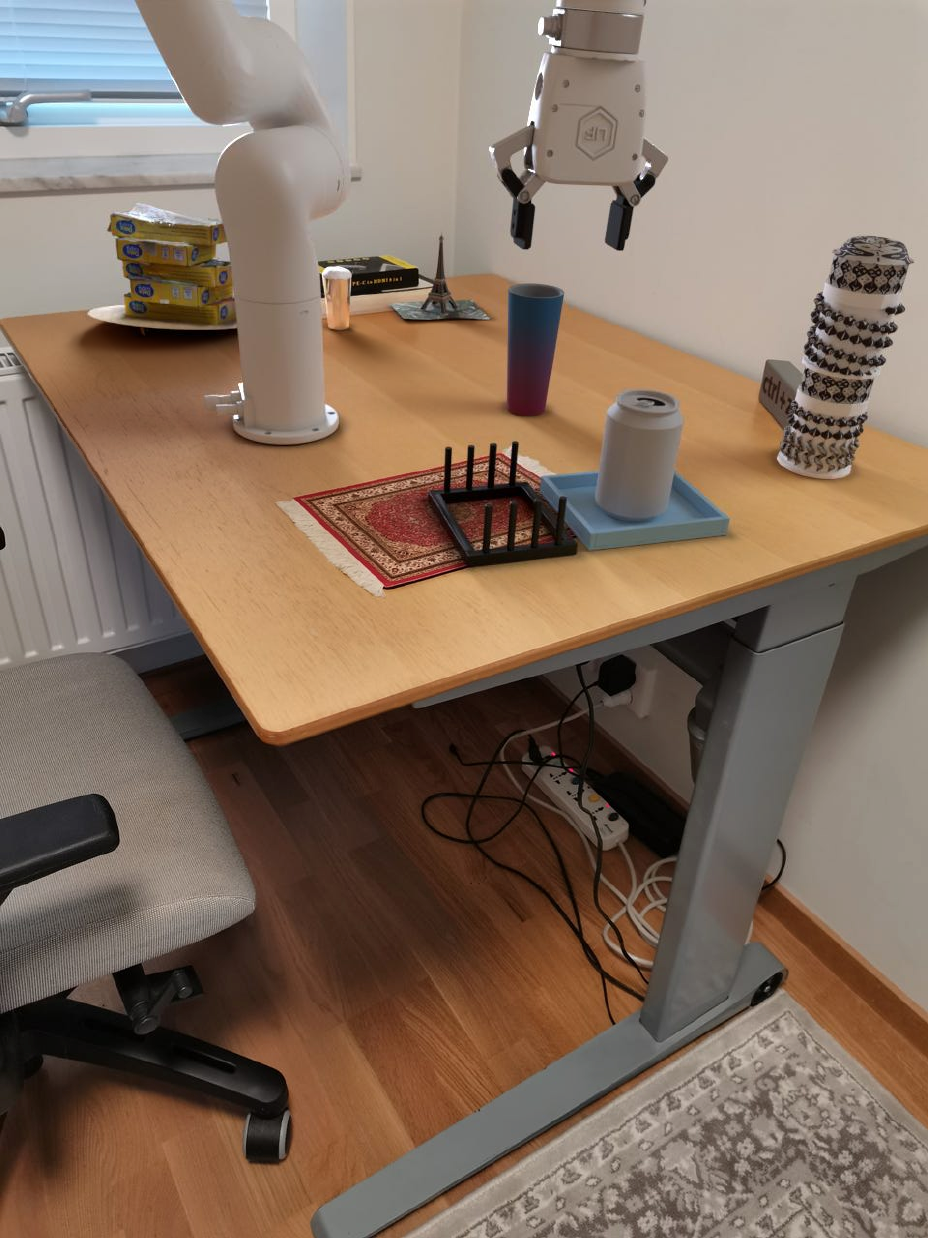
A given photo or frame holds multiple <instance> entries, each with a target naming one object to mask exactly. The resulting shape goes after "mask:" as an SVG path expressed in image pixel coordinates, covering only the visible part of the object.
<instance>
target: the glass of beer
mask: <svg viewBox="0 0 928 1238" xmlns="http://www.w3.org/2000/svg"><path fill="white" fill-rule="evenodd" d="M356 265H357V262H356V261H355V264H354V268H353V270H352V272H351V271H350V270H349V269H348V268H345V267H342V266H340V265H339V266H327V267H326V268H325V269H324V270H323V271H322V273H321V278H322V287H323V293H324V300H325V301H324V302H325V311H326V319H327V327H328V329H331V330H335V331H336V330H337V331H342V330H343V331H344V330H346V329H349V328H350V309H351V307H350V306H351V290H352V278H353V277H352V275H353V273H354V270H355V267H356Z"/></svg>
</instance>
